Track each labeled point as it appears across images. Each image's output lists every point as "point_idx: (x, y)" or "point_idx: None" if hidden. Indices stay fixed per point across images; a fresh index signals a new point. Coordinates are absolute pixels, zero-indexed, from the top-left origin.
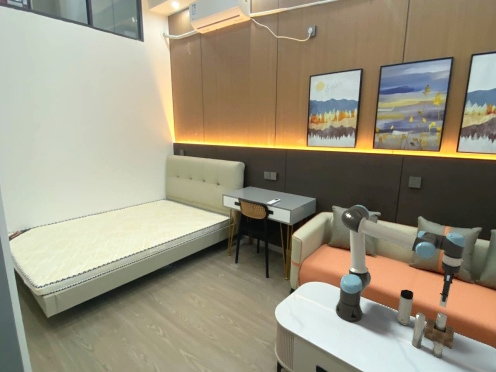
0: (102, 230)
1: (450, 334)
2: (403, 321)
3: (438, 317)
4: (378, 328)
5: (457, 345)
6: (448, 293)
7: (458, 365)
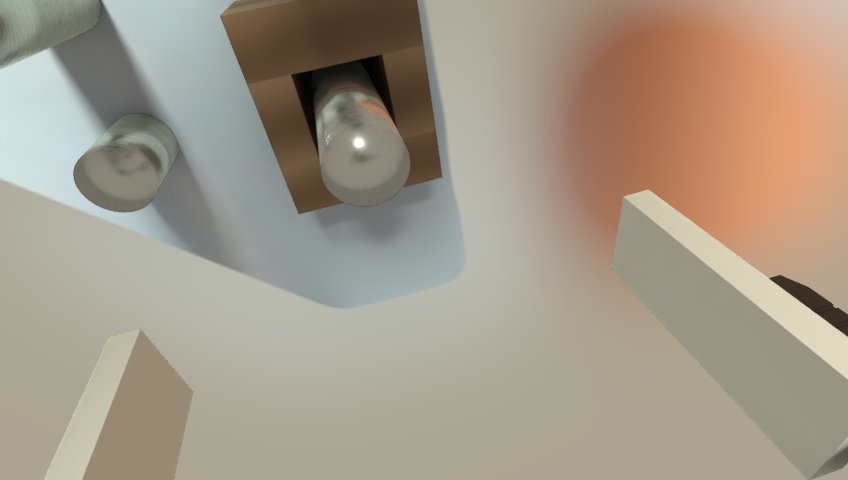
0: None
1: None
2: None
3: (323, 136)
4: None
5: None
6: (632, 286)
7: (193, 242)
